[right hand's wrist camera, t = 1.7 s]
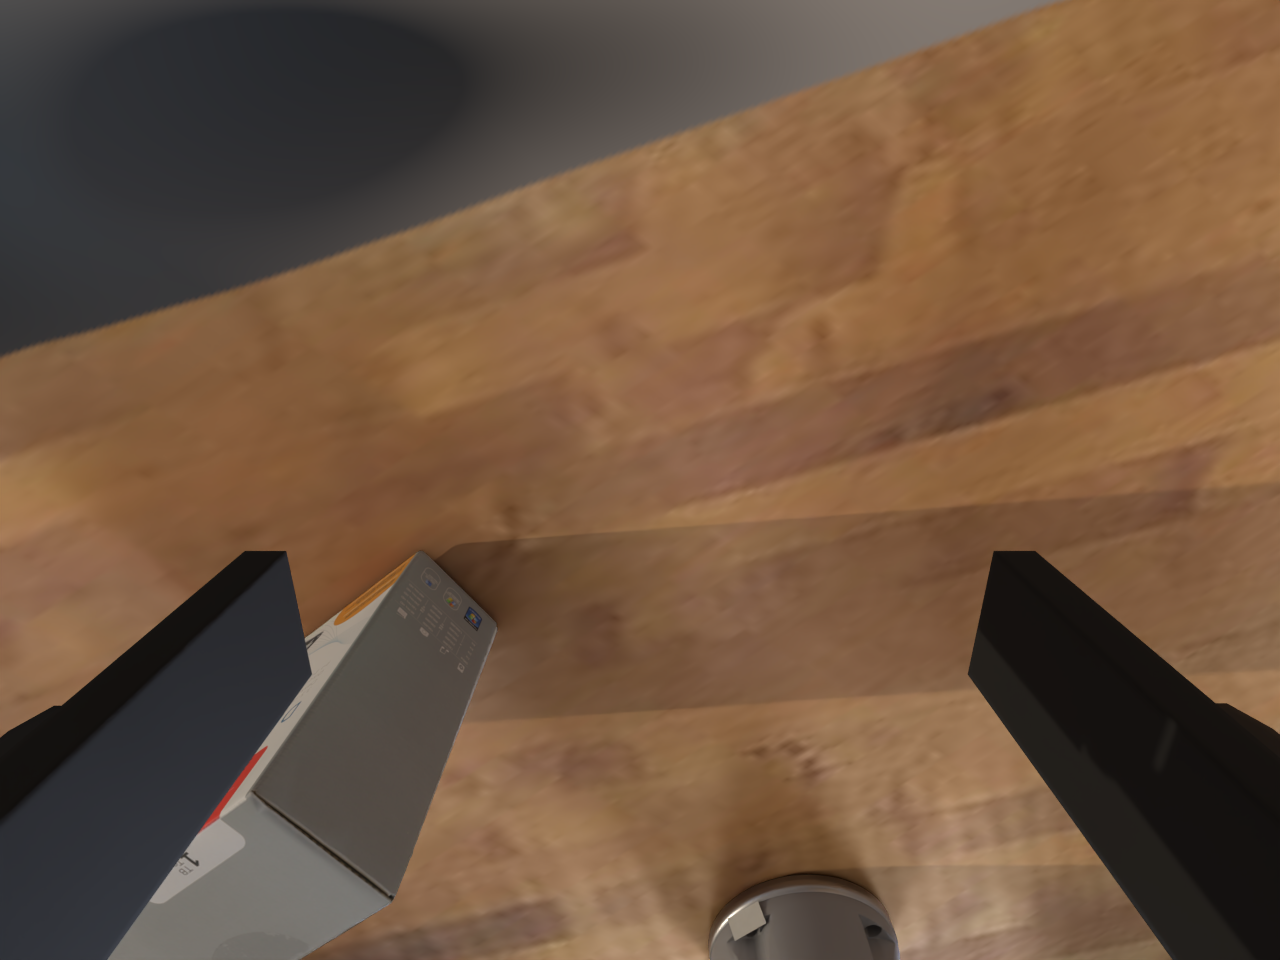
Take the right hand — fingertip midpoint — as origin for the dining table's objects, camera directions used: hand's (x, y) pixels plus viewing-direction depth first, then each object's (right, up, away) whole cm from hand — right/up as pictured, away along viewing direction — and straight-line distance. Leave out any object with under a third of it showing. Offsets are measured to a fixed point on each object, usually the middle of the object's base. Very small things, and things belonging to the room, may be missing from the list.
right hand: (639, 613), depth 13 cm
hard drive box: (-18, -9, +33) cm, 39 cm away
